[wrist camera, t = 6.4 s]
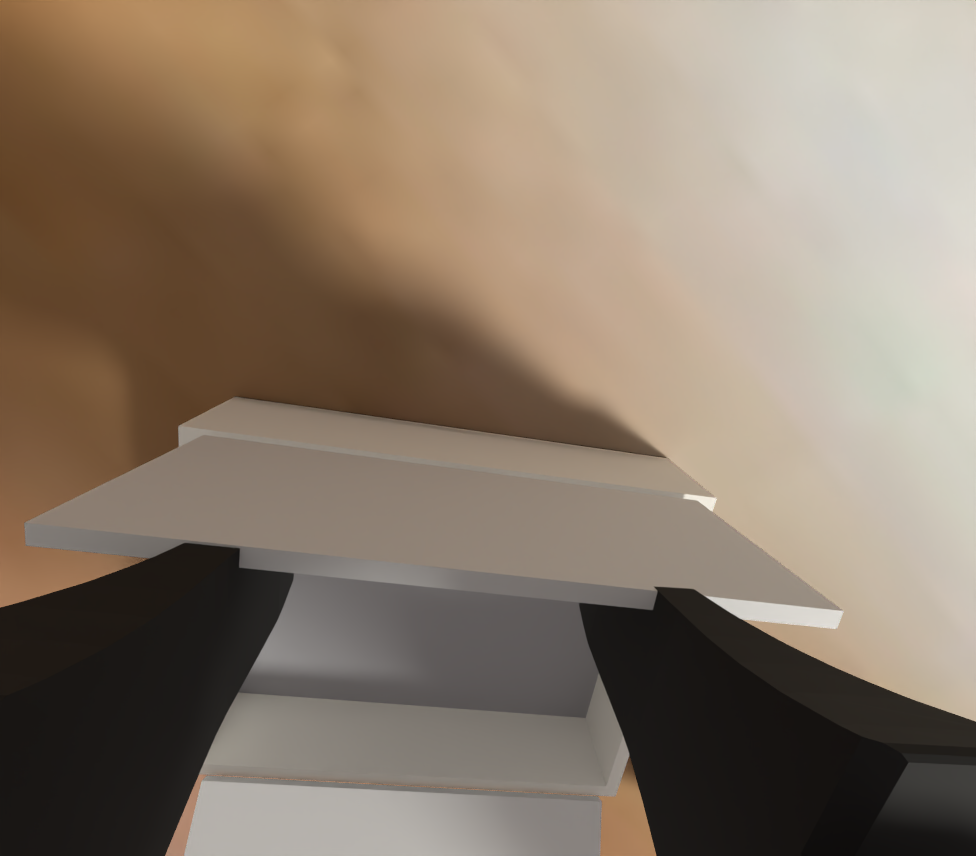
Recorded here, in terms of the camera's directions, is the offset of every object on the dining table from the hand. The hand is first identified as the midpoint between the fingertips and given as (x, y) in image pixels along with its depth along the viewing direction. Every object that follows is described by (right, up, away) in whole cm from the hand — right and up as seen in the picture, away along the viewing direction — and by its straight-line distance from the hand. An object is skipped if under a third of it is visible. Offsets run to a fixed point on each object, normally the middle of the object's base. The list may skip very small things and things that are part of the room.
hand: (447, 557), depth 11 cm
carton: (-1, -3, +8) cm, 8 cm away
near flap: (+1, +1, 0) cm, 1 cm away
